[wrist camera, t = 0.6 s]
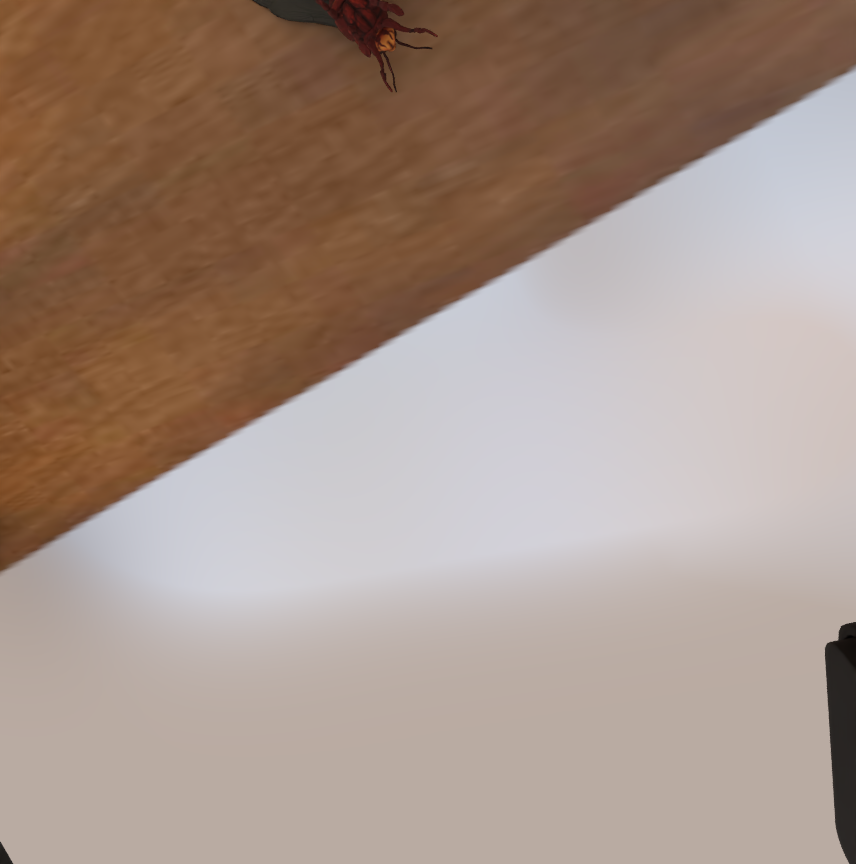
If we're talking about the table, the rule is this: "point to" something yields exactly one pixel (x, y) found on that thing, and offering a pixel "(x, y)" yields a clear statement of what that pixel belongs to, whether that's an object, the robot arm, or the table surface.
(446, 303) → the table surface
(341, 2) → the insect
